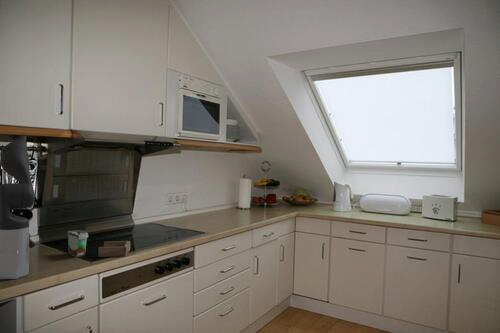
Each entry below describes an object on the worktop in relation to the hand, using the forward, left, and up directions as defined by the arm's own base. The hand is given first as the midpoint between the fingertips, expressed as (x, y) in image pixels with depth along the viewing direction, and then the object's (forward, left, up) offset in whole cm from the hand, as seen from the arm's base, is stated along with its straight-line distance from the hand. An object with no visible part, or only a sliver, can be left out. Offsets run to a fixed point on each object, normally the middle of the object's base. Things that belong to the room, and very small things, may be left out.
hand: (33, 246), depth 152 cm
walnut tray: (0, -34, -4) cm, 34 cm away
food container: (0, -19, -4) cm, 19 cm away
